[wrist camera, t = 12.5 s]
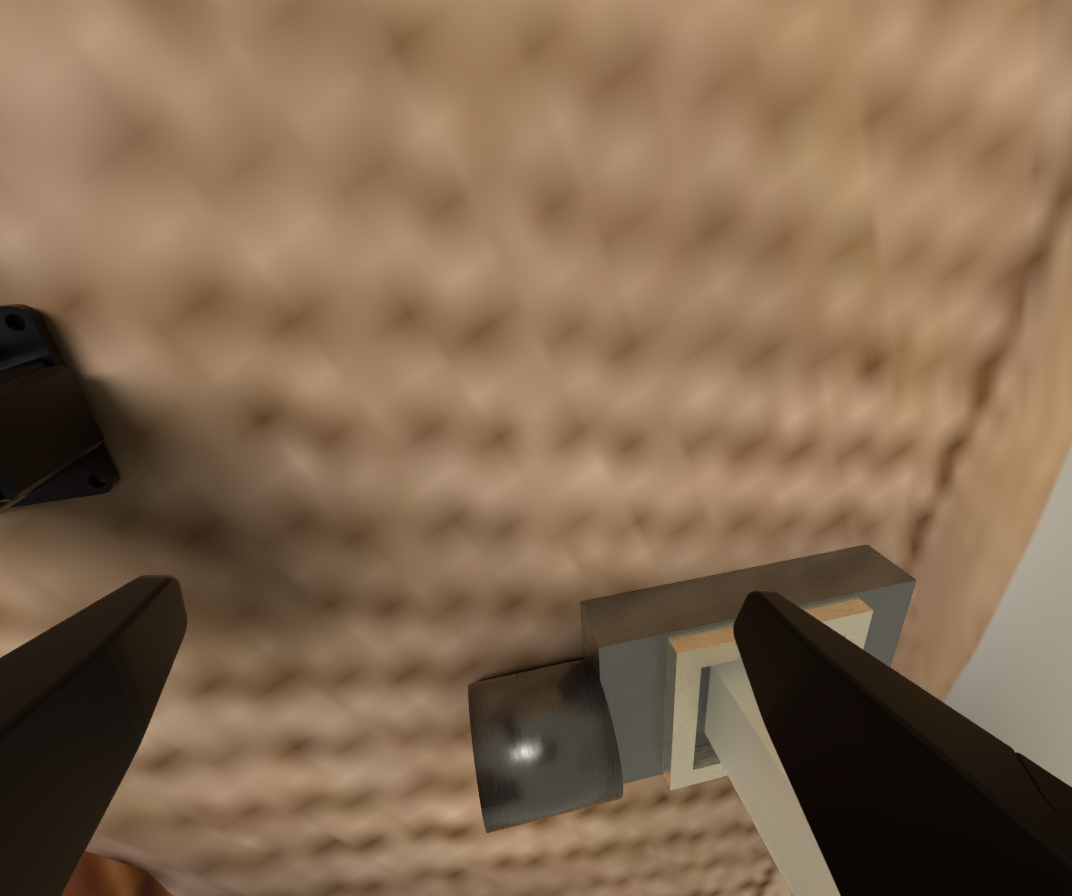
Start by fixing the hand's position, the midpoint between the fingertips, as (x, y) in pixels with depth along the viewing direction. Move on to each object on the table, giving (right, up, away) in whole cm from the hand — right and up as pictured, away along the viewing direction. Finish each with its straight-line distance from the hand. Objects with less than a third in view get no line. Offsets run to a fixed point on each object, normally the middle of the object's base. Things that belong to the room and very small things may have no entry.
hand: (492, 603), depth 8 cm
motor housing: (+8, -9, +19) cm, 23 cm away
